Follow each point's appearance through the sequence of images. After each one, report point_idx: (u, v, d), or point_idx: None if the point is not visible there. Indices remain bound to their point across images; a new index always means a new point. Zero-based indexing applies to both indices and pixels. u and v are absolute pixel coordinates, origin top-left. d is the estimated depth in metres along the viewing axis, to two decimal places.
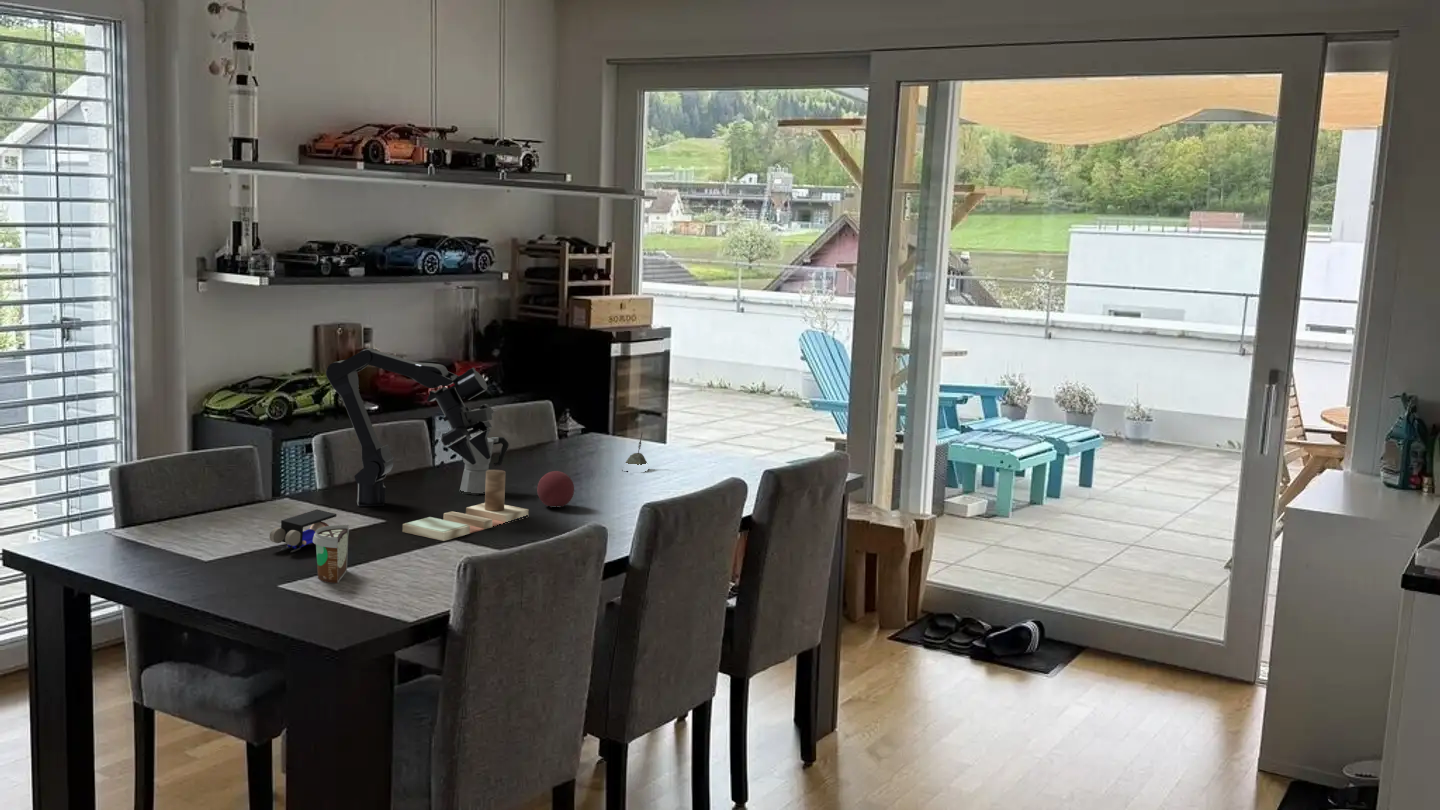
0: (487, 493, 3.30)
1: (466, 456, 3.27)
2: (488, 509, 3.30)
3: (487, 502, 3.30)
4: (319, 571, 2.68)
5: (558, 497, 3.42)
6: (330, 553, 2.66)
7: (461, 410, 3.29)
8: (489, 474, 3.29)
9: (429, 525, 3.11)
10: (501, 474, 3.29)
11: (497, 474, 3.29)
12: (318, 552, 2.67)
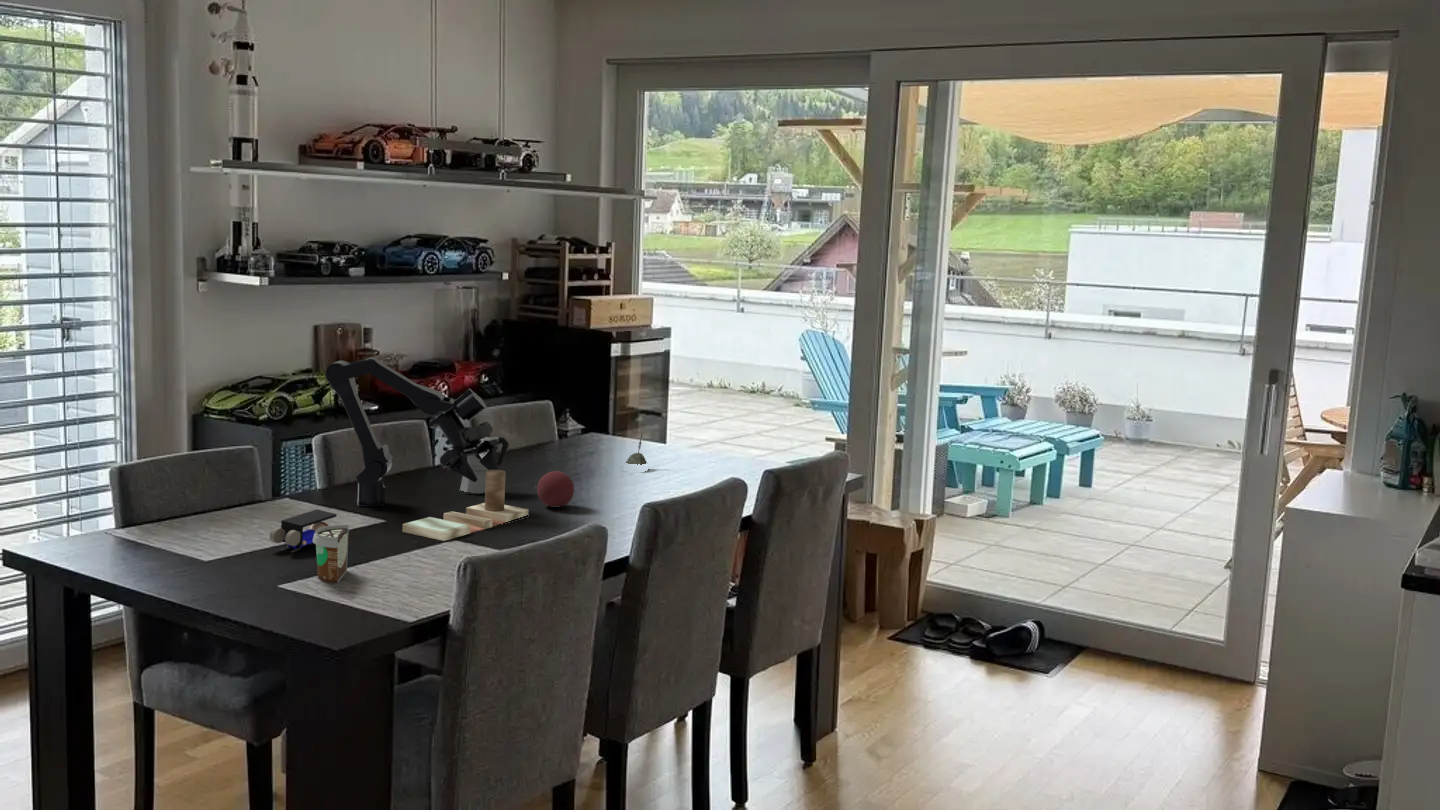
0: (487, 493, 3.30)
1: (467, 474, 3.28)
2: (488, 509, 3.30)
3: (487, 502, 3.30)
4: (319, 571, 2.68)
5: (558, 497, 3.42)
6: (330, 553, 2.66)
7: (459, 431, 3.32)
8: (489, 474, 3.29)
9: (429, 525, 3.11)
10: (501, 474, 3.29)
11: (497, 474, 3.29)
12: (318, 552, 2.67)
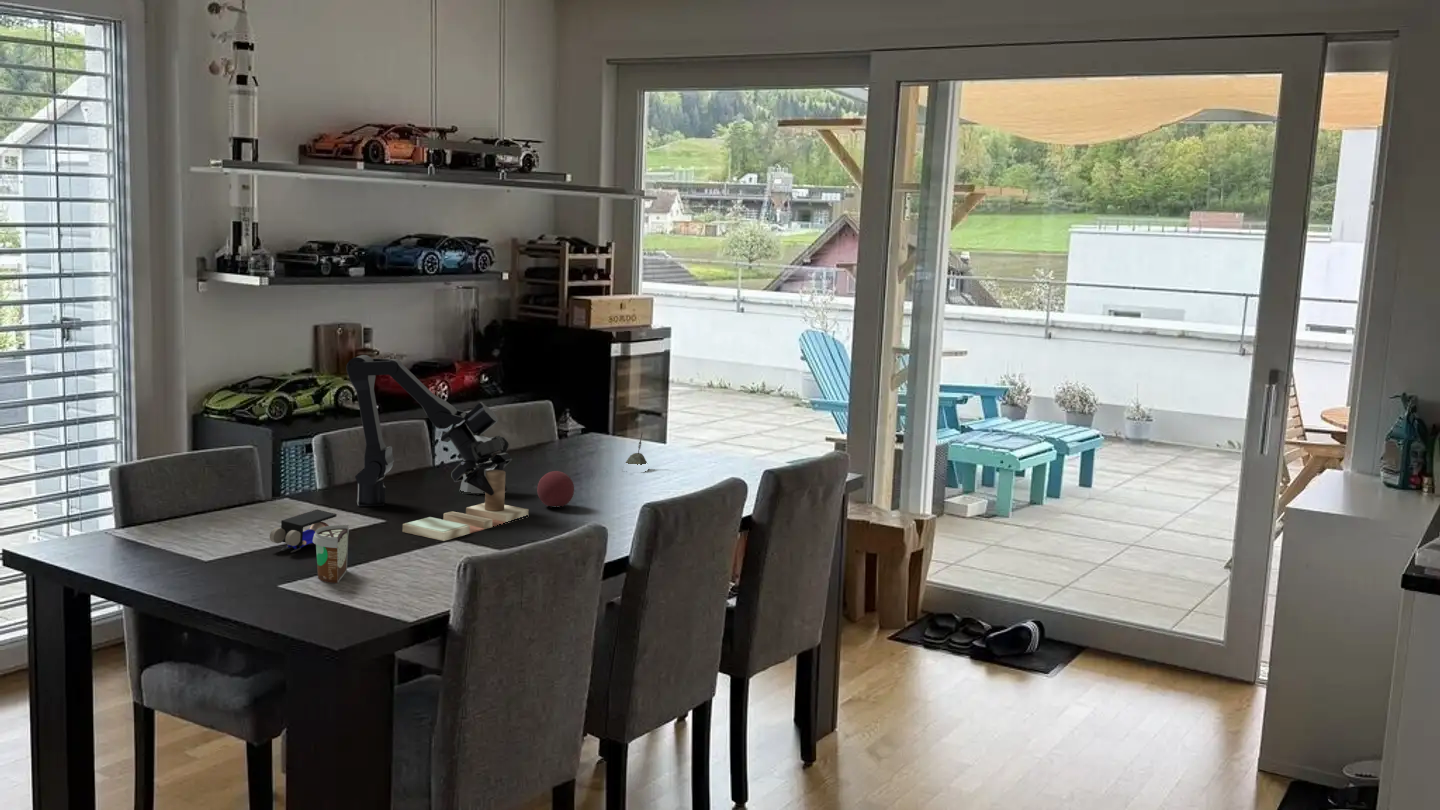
0: None
1: (483, 488, 3.29)
2: (488, 509, 3.30)
3: (487, 502, 3.30)
4: (319, 571, 2.68)
5: (558, 497, 3.42)
6: (330, 553, 2.66)
7: (471, 445, 3.31)
8: (489, 474, 3.29)
9: (429, 525, 3.11)
10: (501, 474, 3.29)
11: (497, 474, 3.29)
12: (318, 552, 2.67)
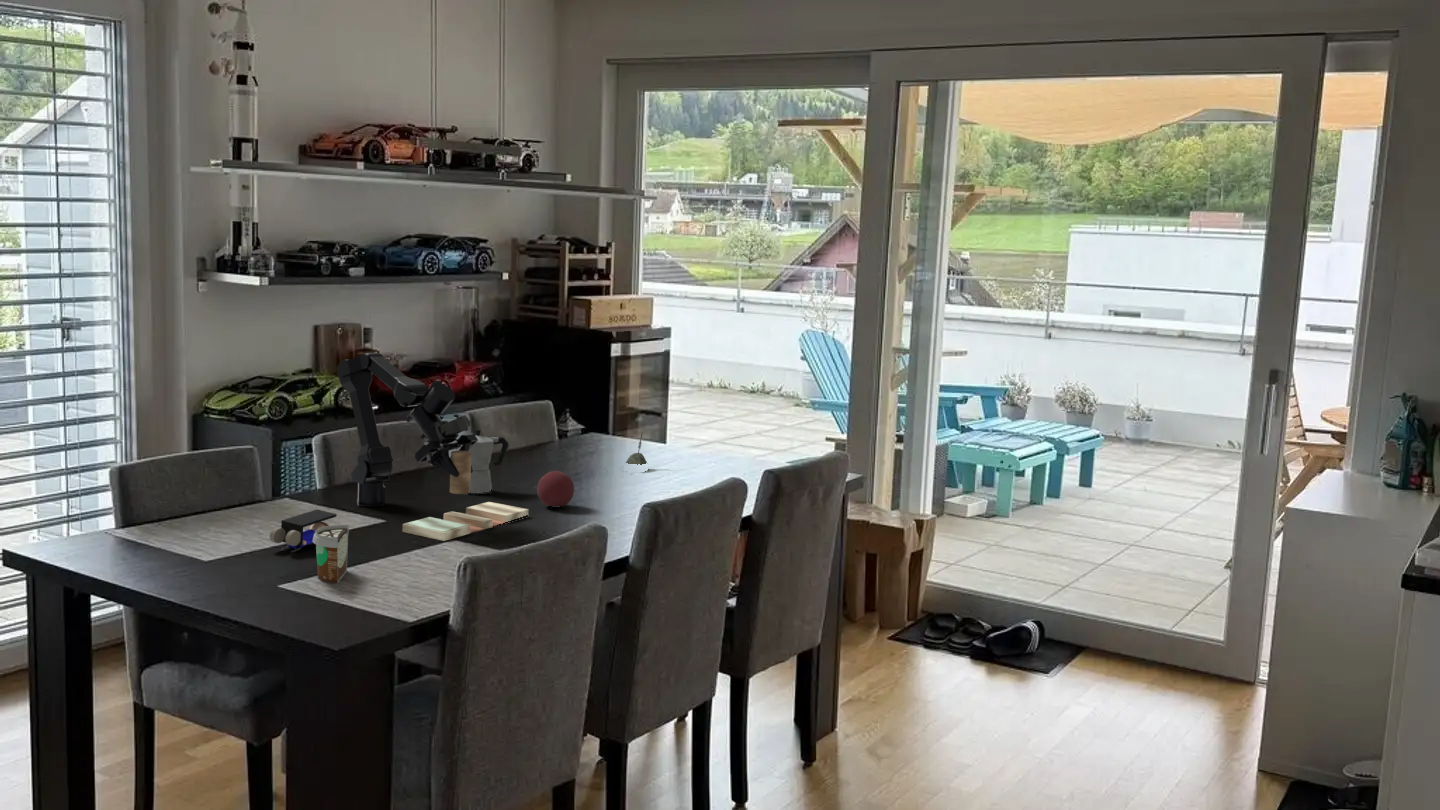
0: (452, 475, 3.16)
1: (448, 469, 3.15)
2: (453, 491, 3.17)
3: (452, 484, 3.16)
4: (319, 571, 2.68)
5: (558, 497, 3.42)
6: (330, 553, 2.66)
7: (435, 425, 3.17)
8: (454, 455, 3.15)
9: (429, 525, 3.11)
10: (467, 455, 3.16)
11: (463, 455, 3.15)
12: (318, 552, 2.67)
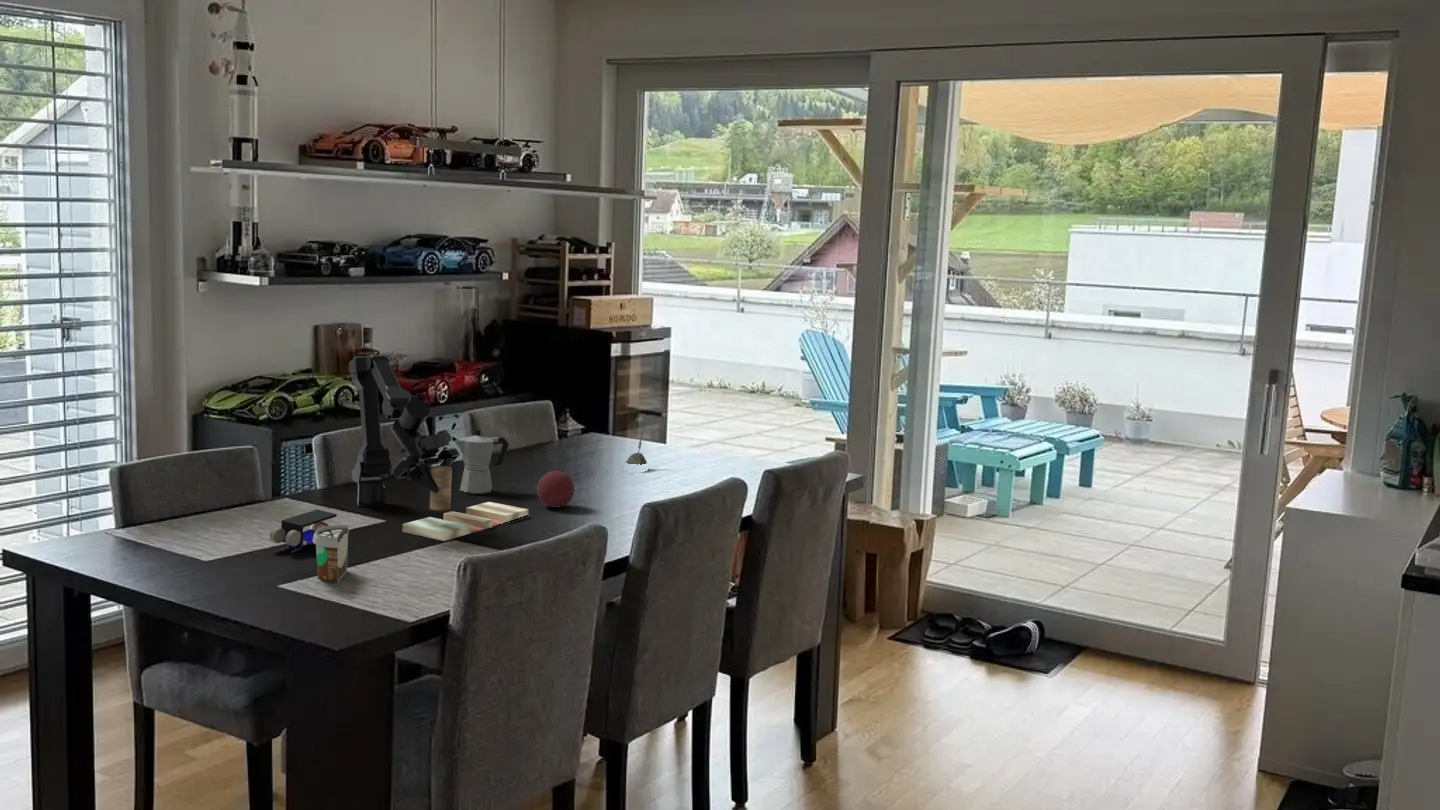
0: (432, 491, 3.11)
1: (427, 485, 3.09)
2: (433, 508, 3.11)
3: (432, 500, 3.11)
4: (319, 571, 2.68)
5: (558, 497, 3.42)
6: (330, 553, 2.66)
7: (415, 439, 3.12)
8: (434, 470, 3.10)
9: (429, 525, 3.11)
10: (447, 470, 3.10)
11: (442, 470, 3.09)
12: (318, 552, 2.67)
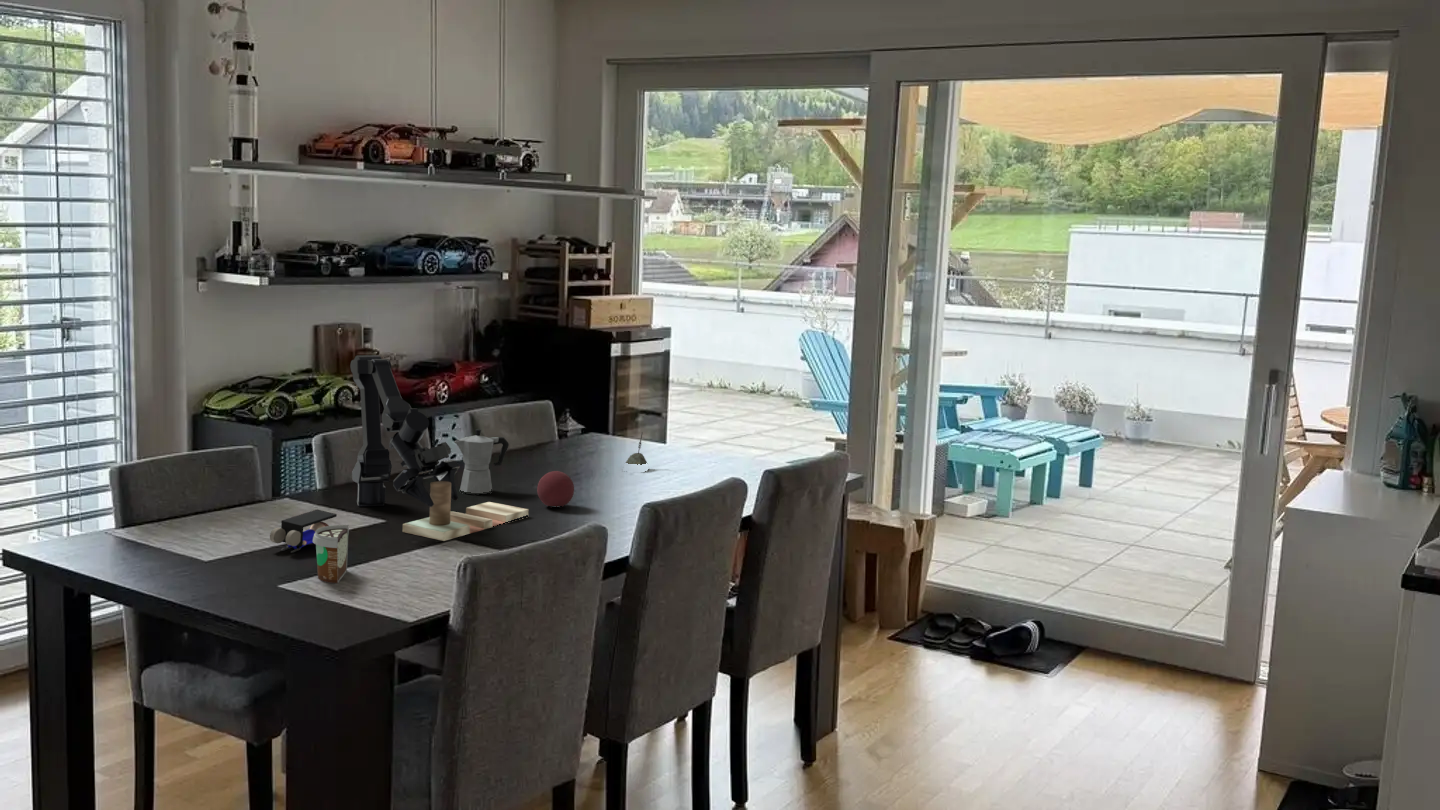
0: None
1: (422, 499, 3.08)
2: (433, 523, 3.11)
3: (432, 515, 3.11)
4: (319, 571, 2.68)
5: (558, 497, 3.42)
6: (330, 553, 2.66)
7: (414, 452, 3.12)
8: (433, 486, 3.10)
9: (429, 525, 3.11)
10: (446, 486, 3.10)
11: (442, 486, 3.10)
12: (318, 552, 2.67)
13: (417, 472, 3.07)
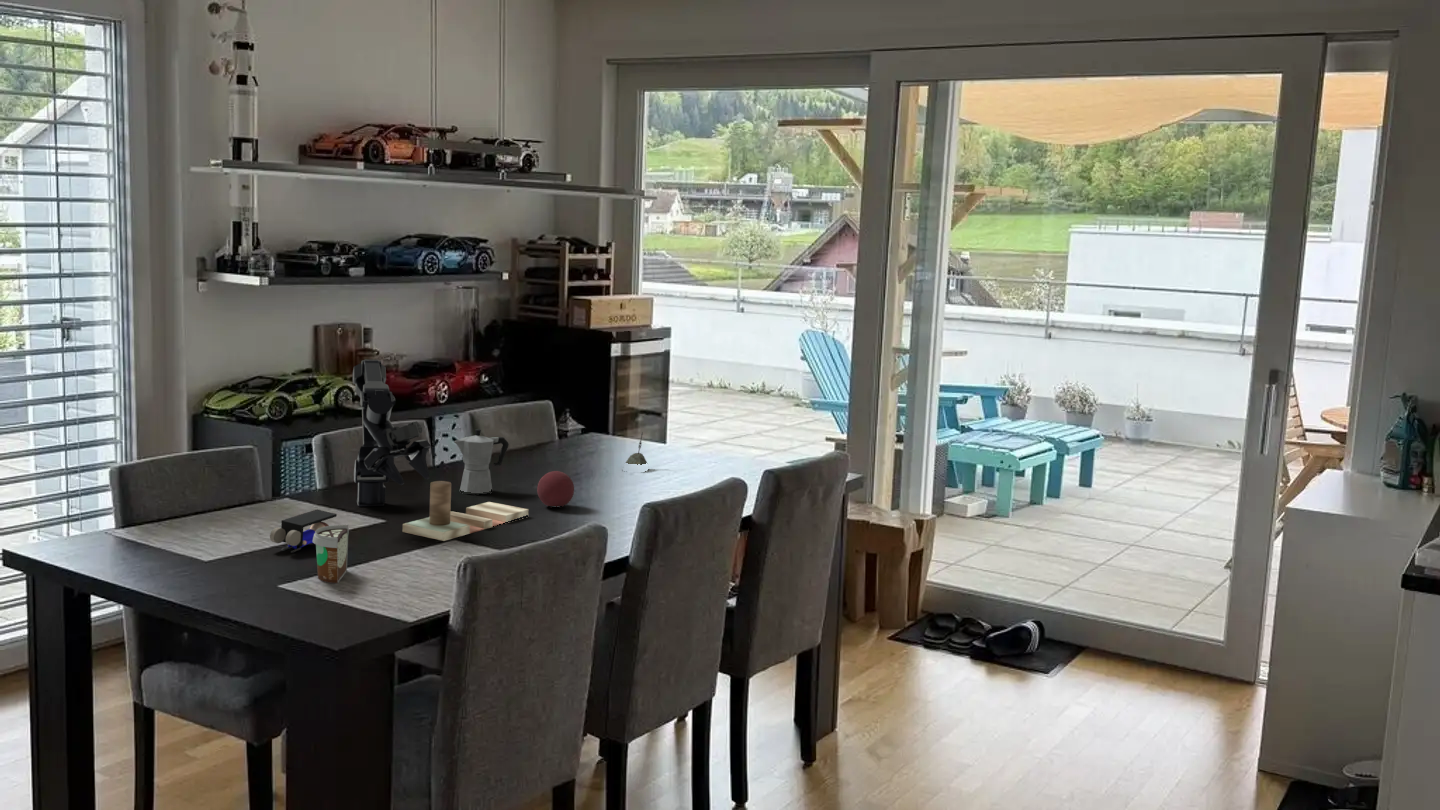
0: (431, 506, 3.11)
1: (393, 477, 3.12)
2: (433, 523, 3.11)
3: (432, 515, 3.11)
4: (319, 571, 2.68)
5: (558, 497, 3.42)
6: (330, 553, 2.66)
7: (386, 431, 3.16)
8: (433, 486, 3.10)
9: (429, 525, 3.11)
10: (446, 486, 3.11)
11: (442, 486, 3.10)
12: (318, 552, 2.67)
13: (388, 450, 3.11)
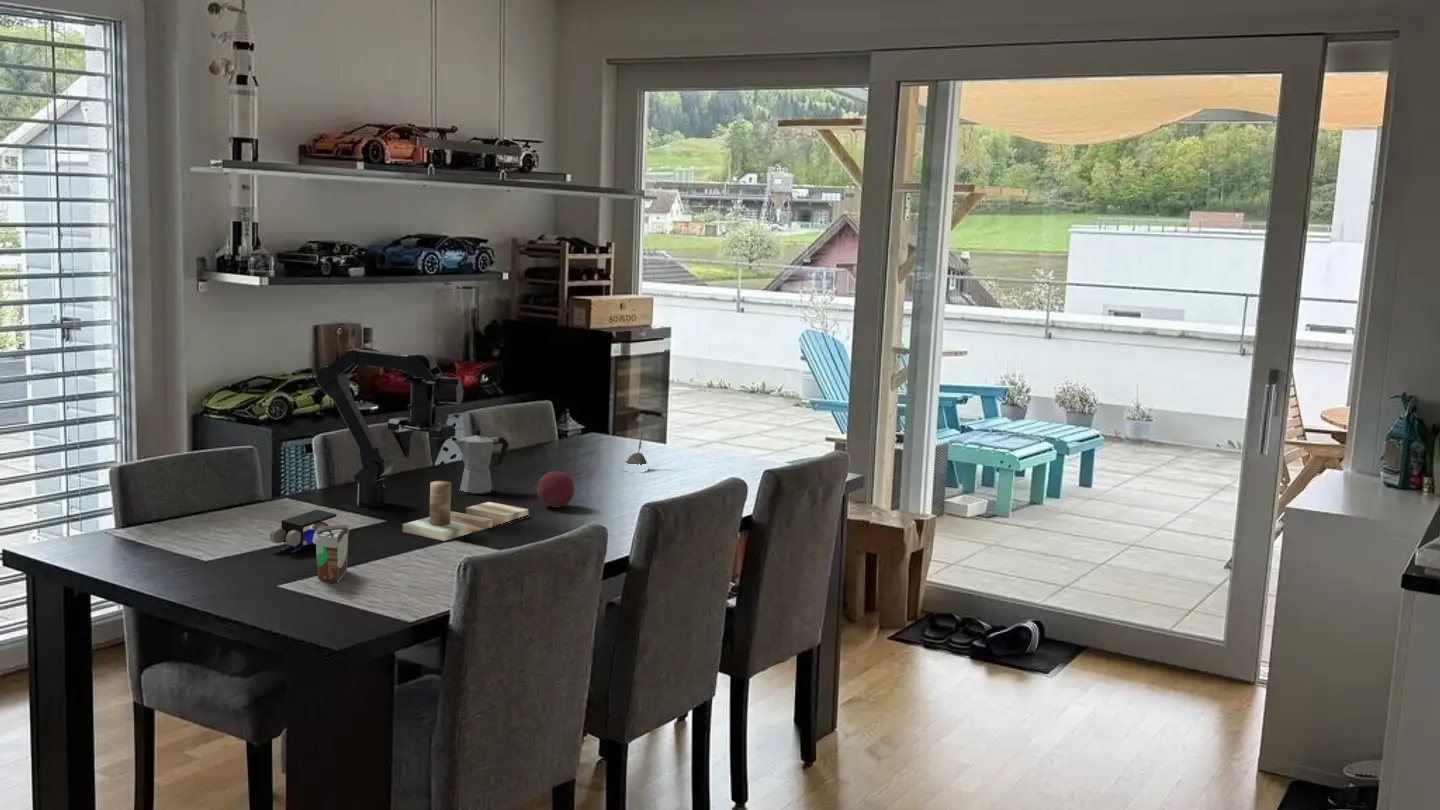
0: (431, 506, 3.11)
1: (435, 453, 3.32)
2: (433, 523, 3.11)
3: (432, 515, 3.11)
4: (319, 571, 2.68)
5: (558, 497, 3.42)
6: (330, 553, 2.66)
7: (436, 407, 3.34)
8: (433, 486, 3.10)
9: (429, 525, 3.11)
10: (446, 486, 3.11)
11: (442, 486, 3.10)
12: (318, 552, 2.67)
13: None
